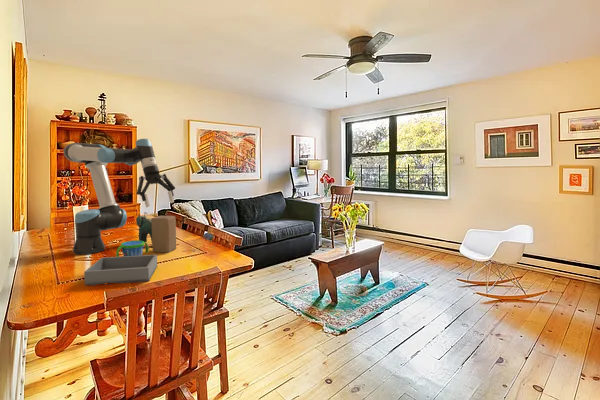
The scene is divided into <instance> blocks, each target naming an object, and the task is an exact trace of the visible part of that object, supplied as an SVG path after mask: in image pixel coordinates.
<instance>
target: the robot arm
mask: <svg viewBox="0 0 600 400" xmlns="http://www.w3.org/2000/svg"><path fill="white" fill-rule="evenodd" d="M63 156H64V157H65V158H66V159H67V160H68V161H70V162H73V163H79V164H80V163H81V164H84V166H85V168H87V169H88V170H89V173H90V176H91V180H92V185H93V188H94V191H95V194H96V199H97V201H98V205H99V207H98V208H91V209H85V210H80V211H78V212H76V214H75V215H74V225H75V226H74V227H75V228H74V229H75V241H74V246H73V247H72V253H73V254H74V255H90V254H91V255H93V254H97V253H101V252H103V251H105V250H106V244H105V243H104V241H103V239H102V236H101V235H102V234H101V233H102V232H103V231H108V230H115V229H116V230H117V229H119V228H122V227H124V226H125V225H126V223H127V219H128V216H127V215H128V214H127V211H126V210H125V209H124V208H121V206H120V204H118V203H117V202H116V199H115V196H114V195H115V194H114V192H113V188H112V185H111V180H110V178H109V173H108V171H107V166H108V164H124V165H125V164H126V165H127V166H134V165H137V164H138V163H141V167H142V172H143V175H144V176H143V175H140V176H139V178H138V180H139V181H138V186H137V191H136V195H139V196H140V197H141V201H142V202H144V205H145V208H148V207H150V202H149V198H148V195H147V193H146V192H147V190H148V189H149V186H150V185H154V184H155V185H156V184H159V185H161V187H163V189H165V190H167V195H168V199H169V202H170V204H173V203H175V200H174V196H175V195H174V191H173V190H175V189H176V187H175V185H174V184H173V183H172V182H171V181H170V179H169V178H168V177H167V174H165V173H164V174H161V173H160V170H159V167H158V163H157V160H156V156H155V151H154V149H153V144H152V142H151V140H150V139H148V138H140V139H137V140H136V141H135V147H133V148H132V149H129V148H114V147H113V148H111V147H106V146H104V145H103V144H99V143H83V142H72V143H69V144H67V145H66V146H65V147H64V148H63ZM145 181H146V183H145V185H144V182H145ZM143 185H144V187H143Z"/></svg>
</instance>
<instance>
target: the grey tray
mask: <svg viewBox="0 0 600 400" xmlns="http://www.w3.org/2000/svg"><path fill="white" fill-rule="evenodd" d="M157 268H158V254H149V255H147V254H145V255H143V254H142V256H124V255H122V256H119V257H116V256H109V257H100V259H98V260H97V261H96V262H95V263H93V264H92V265H90V267H88V268H87V269H86V270H85V271H84V274H83V275H84V286H85V287H87V286H86V285H91V286H98V285H97V284H104V285H106V284H105V283H118V284H131V283H142V282H145V283H146V282H150V280H151V278H152V276H153V275H154V273H155V271H156V270H157Z"/></svg>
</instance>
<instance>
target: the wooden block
mask: <svg viewBox="0 0 600 400" xmlns="http://www.w3.org/2000/svg"><path fill="white" fill-rule="evenodd" d="M150 220H151V222H152V241H151V247H152V252H153V253H163V254H164V253H165V254H166V253H167V254H169V253H170V252H172V251H174V250H176V249H177V220H176V216H175V215H158V216H155V217H152V218H150Z"/></svg>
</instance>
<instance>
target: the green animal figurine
mask: <svg viewBox="0 0 600 400" xmlns="http://www.w3.org/2000/svg"><path fill="white" fill-rule="evenodd" d="M146 215H148V213H147V212H144V213H143V215H142V216H141V214H138V215H137V217H136V218H135V219H136V221H135V222H136V226H137V227H138V228H139V229H138V240H139V241H144V242H145V243H147V241H148V235H149V238H150V242H152V222H151V218H150V217H149V218H148V217H147V216H146Z"/></svg>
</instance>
